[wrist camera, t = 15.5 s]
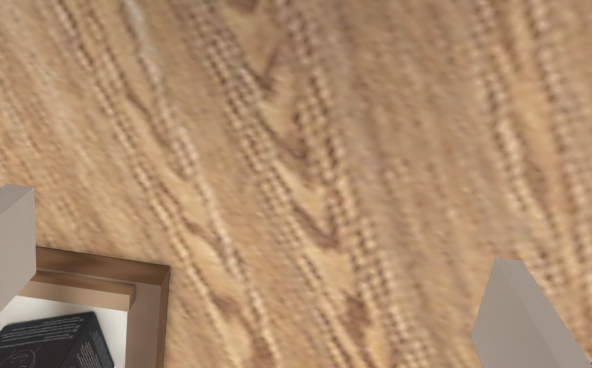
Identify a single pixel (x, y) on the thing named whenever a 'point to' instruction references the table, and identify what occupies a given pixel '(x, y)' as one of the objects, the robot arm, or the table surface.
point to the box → (55, 344)
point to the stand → (100, 301)
